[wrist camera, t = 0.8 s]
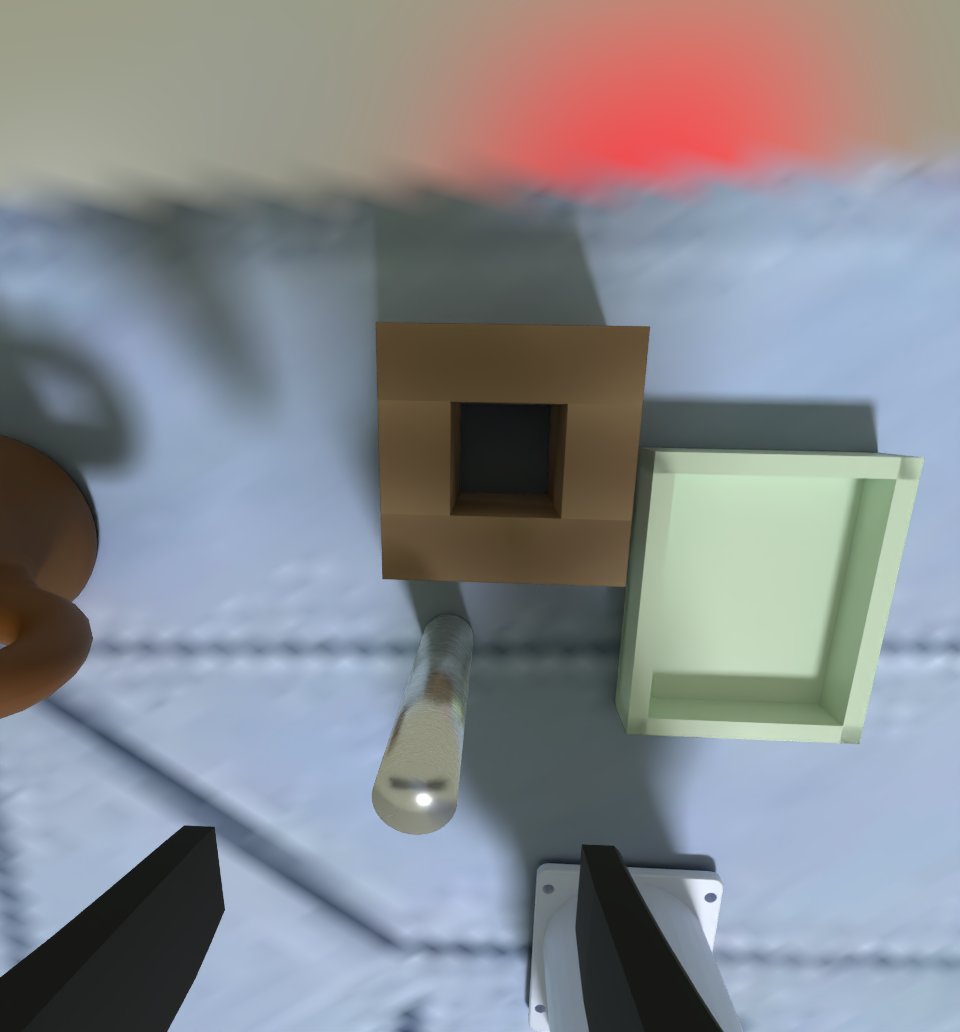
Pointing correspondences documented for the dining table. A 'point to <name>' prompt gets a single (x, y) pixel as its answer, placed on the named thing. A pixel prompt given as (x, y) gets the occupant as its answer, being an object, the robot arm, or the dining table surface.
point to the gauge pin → (428, 733)
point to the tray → (759, 590)
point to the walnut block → (572, 451)
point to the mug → (41, 576)
